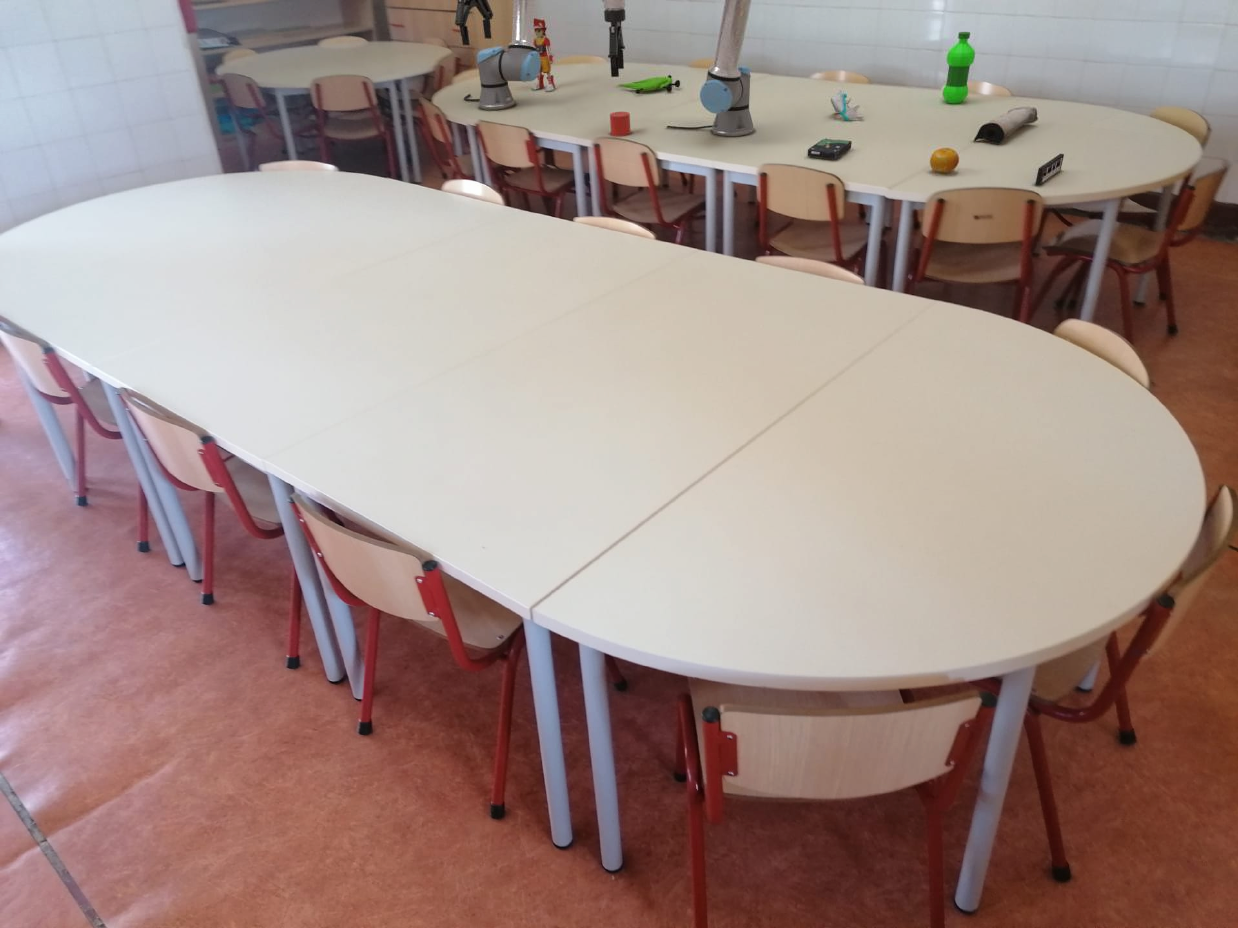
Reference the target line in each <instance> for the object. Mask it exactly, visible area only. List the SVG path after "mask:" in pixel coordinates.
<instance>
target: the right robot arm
mask: <svg viewBox="0 0 1238 928" xmlns="http://www.w3.org/2000/svg"><path fill="white" fill-rule="evenodd" d="M601 2H602V3H603V8H604V11H603V15H604V17H603V18H604V22H606V23H610V26H609V28H608V30H609V32H608V33H609V39H608V41H609V43H608V44H609V45H608V46H609V47H608V48H609V50H608V55H607V58H608V59H609V60H610V76H611V78H619V77H620V72H619V71H620V70H624V69H625V63H624V61H625V60H624V50H625V49H626V46H625V44H624V38H623V37H624V36H623V27H622V22H625V21H626V9H625V7H626V0H601ZM751 4H752V0H724V5H723V10H722V15H721V22H720V26H719V32H718V38H717V44H716V49H715V53H714V60H713V64H712V65H711V66H709V67H708V69H707V75H706V79H705V82H704V83H703V84H702V86H701V88H700V91H699V100H700V102H701V105H702V106H703V107H704V109H705V110H706V111H708V112H709V113H712V114H715V118H714V120H713V124H710V125H703V126H702V125H701V126H675V125H666V128H667V129H674V130H675V129H677V130H701V129H703V130H704V129H709V128H712V133H713V134H715V135H717V136H721V137H741V136H746V135H750V134H752V133H754V122H753V118H752V115H751V111H750V94H751V93H750V92H751V77H752V76H751V69H750V67H749V66H747V65H741V64H740V59H741V54H742V50H743V43H744V39H745V34H746V29H747V24H748V19H749V13H750V9H751ZM739 64H740V65H739Z"/></svg>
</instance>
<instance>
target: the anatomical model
mask: <svg viewBox="0 0 1238 928" xmlns="http://www.w3.org/2000/svg"><path fill="white" fill-rule="evenodd" d="M847 97H848V95H847V92H845V91H844V90H842V89H841V90H839V93H837V95H833V96H831V97H830V103H831V106H832V107H833V110H834V111H835V112H836V113H839V114H840V115H841V117H842V119H843V120H844V121H851V120H856V119H857V120H858V119H860V120H861V119H863V118H864V115H863V114H859V113H858V110H859V108H860V106H861V104H856V105H854V106H850V105H849V104H850V102H851V101H852V98H848V99H847Z"/></svg>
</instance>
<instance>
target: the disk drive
mask: <svg viewBox="0 0 1238 928" xmlns="http://www.w3.org/2000/svg"><path fill="white" fill-rule="evenodd" d="M851 148H852V140H844V139H831V138H829V139H828V138H823V139H820V141H818V142H816V143H815V144H813V145H812V146H810V147H809V148H807V157H809V158H817V159H822V160H823V159H825V160H838V158H840V157H842V156H843V155H844V154H846V152H848V151H850V150H851Z"/></svg>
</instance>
